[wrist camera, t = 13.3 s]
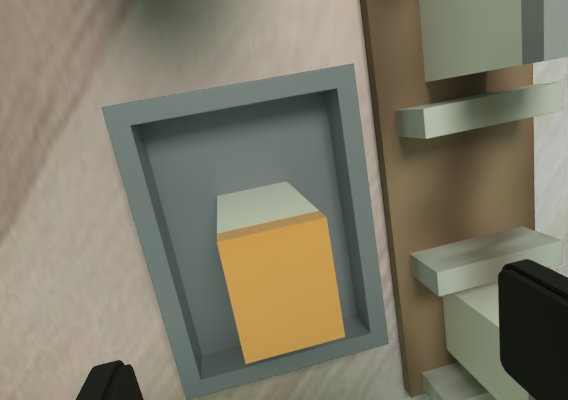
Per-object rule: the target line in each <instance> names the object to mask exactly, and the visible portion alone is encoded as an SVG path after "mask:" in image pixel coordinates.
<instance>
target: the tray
mask: <svg viewBox="0 0 568 400" xmlns="http://www.w3.org/2000/svg"><path fill="white" fill-rule="evenodd" d="M101 108H102V111H103V115H104V118H105V122H106V125H107V129H108V132H109V135H110V139H111V142H112V146H113V149H114V153H115V156H116V159H117V163H118V166H119V170H120V173H121V177H122V180H123V183H124V187H125V190H126V194H127V197H128V201H129V204H130V207H131V211H132V214H133V218H134V221H135V225H136V228H137V231H138V235H139V238H140V242H141V245H142V249H143V252H144V256H145V259H146V262H147V266H148V269H149V273H150V276H151V280H152V283H153V286H154V290H155V293H156V297H157V300H158V304H159V307H160V310H161V314H162V317H163V321H164V324H165V328H166V331H167V334H168V338H169V341H170V345H171V348H172V352H173V355H174V358H175V362H176V365H177V369H178V372H179V376H180V379H181V382H182V386H183V389H184V393H185V396H186V400H189V399H193V398H196V397H200V396H203V395H207V394H211V393H214V392H218V391H221V390H225V389H228V388H232V387H236V386H239V385H243V384H246V383H250V382H253V381H257V380H261V379H264V378H268V377H271V376H275V375H278V374H282V373H286V372H289V371H293V370H296V369H300V368H304V367H307V366H311V365H314V364H318V363H321V362H325V361H329V360H332V359H336V358H339V357H343V356H346V355H350V354H354V353H357V352H361V351H364V350H368V349H372V348H375V347H379V346H382V345H386V344H388V335H387V327H386V319H385V311H384V303H383V295H382V287H381V279H380V271H379V263H378V255H377V247H376V239H375V231H374V223H373V215H372V207H371V199H370V191H369V183H368V175H367V167H366V159H365V151H364V143H363V135H362V127H361V119H360V111H359V103H358V95H357V87H356V79H355V71H354V64H348V65H342V66H337V67H331V68H325V69H319V70H314V71H308V72H302V73H296V74H290V75H285V76H279V77H273V78H267V79H262V80H256V81H250V82H244V83H238V84H233V85H227V86H221V87H215V88H210V89H204V90H198V91H192V92H186V93H181V94H175V95H169V96H163V97H158V98H152V99H146V100H140V101H134V102H129V103H123V104H117V105H111V106H105V107H101ZM282 182H288V183H289V184H290V185H291V186H292V187H294V188H295V189H296V190H297V191H298V192H299V193H300V194H301V195H302V196H304V197H305V198H306V199H307V200H308V201H309V202H310V203H311V204H312V205H313V206H315V207H316V208H317V209H318V210H319V211H320V212H321V213H322V214H323V215H325V216H326V217H327V223H328V229H329V236H330V242H331V249H332V255H333V261H334V268H335V274H336V281H337V287H338V294H339V300H340V306H341V313H342V319H343V326H344V332H345V337H343V338H340V339H336V340H332V341H329V342H325V343H321V344H318V345H314V346H310V347H307V348H303V349H299V350H296V351H292V352H288V353H284V354H281V355H277V356H273V357H270V358H266V359H262V360H259V361H255V362H251V363H248V364H245V359H244V355H243V351H242V347H241V342H240V338H239V334H238V330H237V326H236V321H235V317H234V313H233V309H232V304H231V300H230V296H229V292H228V287H227V283H226V279H225V275H224V271H223V266H222V262H221V258H220V254H219V249H218V245H217V196H220V195H225V194H229V193H234V192H239V191H244V190H248V189H253V188H258V187H263V186H268V185H272V184H277V183H282Z"/></svg>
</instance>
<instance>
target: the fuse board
mask: <svg viewBox="0 0 568 400" xmlns="http://www.w3.org/2000/svg"><path fill="white" fill-rule="evenodd" d="M360 2H361V10H362V19H363V28H364V36H365V45H366V54H367V62H368V71H369V79H370V88H371V97H372V105H373V114H374V123H375V131H376V140H377V148H378V157H379V166H380V174H381V183H382V192H383V200H384V209H385V217H386V226H387V235H388V243H389V252H390V261H391V269H392V278H393V286H394V295H395V304H396V312H397V321H398V330H399V338H400V347H401V356H402V364H403V373H404V381H405V389H406V391H407V392H408V394H409V395H410V397H414V396H417V395H421V394H424V393H426V394H427V395H428V397H429V398H430V399H431V400H496V399H495V398H494V397H493V396H492V395H491V393H490V392H489V391H488V390H487V389H486V388H485V387H484V386H483V385H482V384H481V383H480V382H479V381H478V380H477V379H476V378H475V377H474V376H473V375H472V374H471V373H470V372H469V371H468V370H467V369H466V368H465V367H464V366H463V365H462V364H461V363H460V362H459V361H458V360H457V359H456V358H455V357H454V356H453V355H452V354H451V353H450V352H449V351H448V350H447V344H446V331H445V319H444V306H443V295H447V294H450V293H454V292H458V291H462V290H465V289H469V288H473V287H477V286H480V285H484V284H488V283H492V282H495V281H498V274H499V272H501V271H502V268H503V266H504V265H505V264H508V263H512V262H516V261H520V260H524V259H529V260H533V261H535V262H537V263H539V264H541V265H543V266H545V267H547V268H548V267H552V266H555V265H559V264H562V240H560V239H557V238H554V237H551V236H548V235H545V234H543V233H540V232H537V231H535V209H534V126H533V117H534V116H539V115H544V114H549V113H554V112H559V111H563V82H556V83H547V84H538V85H533V63H529V64H524V65H518V66H513V67H507V68H501V69H496V70H490V71H485V72H479V73H474V74H468V75H463V76H457V77H451V78H446V79H440V80H435V81H429V82H425V70H424V58H423V46H422V33H421V21H420V8H419V0H360Z"/></svg>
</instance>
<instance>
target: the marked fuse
mask: <svg viewBox="0 0 568 400" xmlns="http://www.w3.org/2000/svg"><path fill="white" fill-rule="evenodd" d="M217 245H218V249H219V254H220V258H221V262H222V266H223V271H224V275H225V279H226V283H227V287H228V292H229V296H230V300H231V304H232V309H233V313H234V317H235V321H236V326H237V330H238V334H239V338H240V342H241V347H242V351H243V355H244V359H245V364H248V363H251V362H255V361H259V360H262V359H266V358H270V357H273V356H277V355H281V354H284V353H288V352H292V351H296V350H299V349H303V348H307V347H310V346H314V345H318V344H321V343H325V342H329V341H332V340H336V339H340V338H343V337H345V332H344V326H343V319H342V313H341V306H340V300H339V294H338V287H337V281H336V274H335V268H334V261H333V255H332V249H331V242H330V236H329V229H328V223H327V217H326V216H325V215H323V214H322V213H321V212H320V211H319V210H318V209H317V208H316V207H315V206H313V205H312V204H311V203H310V202H309V201H308V200H307V199H306V198H305V197H304V196H302V195H301V194H300V193H299V192H298V191H297V190H296V189H295V188H294V187H292V186H291V185H290V184H289V183H288V182H282V183H277V184H272V185H268V186H263V187H258V188H253V189H248V190H244V191H239V192H234V193H229V194H225V195H220V196H217Z"/></svg>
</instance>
